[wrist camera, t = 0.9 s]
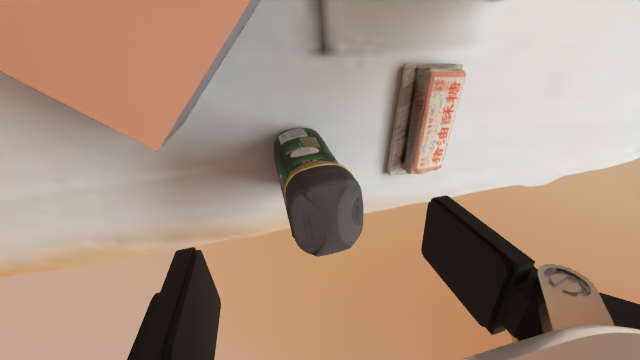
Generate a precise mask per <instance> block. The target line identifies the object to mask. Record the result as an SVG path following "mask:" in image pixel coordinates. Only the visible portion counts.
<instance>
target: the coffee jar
mask: <svg viewBox="0 0 640 360" xmlns="http://www.w3.org/2000/svg"><path fill="white" fill-rule="evenodd" d="M274 157H275V163H276V168H277V172H278V176H279V180H280V184H281V189H282V193H283V197H284V201H285V206H286V210H287V214H288V219H289V222H290V227H291V231H292V236H293V237H294V238H295V241H296V242H297V244H298V246H299V247H300V248H301V249H302V250H304V251H305V252H307V253H309V254H312V255H315V256H323V255H329V254H333V253H336V252H340V251H343V250H346V249H349V248H351V247H352V245H353V244H354V243H355V242H356V240H357V239H358V237H359V236H360V234H361V231H362V227H363V200H362V192H361V188H360V186H359V184H358V182H357V181H356V179H355V178H354V177H353V175H352V174H351V172H350V171H349V170H348V169H347V168H346V167H344V166H343V165H341V164H339V163H338V162H337V160H336V159H335V157H334V156H333V155H332V153H331V152H330V150H329V149H328V147H327V146H326V144H325V142H324V141H323V139H322V138H321V137H320V135H319V134H318V133H317V132H316V131H314V130H312V129H308V128H302V129H294V130H290V131H287V132H284V133H282V134H281V135H279V136H278V137H277V139H276V141H275V143H274Z"/></svg>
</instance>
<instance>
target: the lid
mask: <svg viewBox="0 0 640 360" xmlns="http://www.w3.org/2000/svg"><path fill="white" fill-rule="evenodd" d="M250 1H251V0H0V71H1V72H3V73H5V74H7V75H9V76H11V77H12V78H14V79H16V80H18V81H20V82H22V83H24V84H26V85H28V86H30V87H32V88H34V89H36V90H38V91H40V92H42V93H44V94H46V95H47V96H49V97H51V98H53V99H55V100H57V101H59V102H61V103H63V104H65V105H67V106H69V107H71V108H73V109H75V110H77V111H79V112H80V113H82V114H84V115H86V116H88V117H90V118H92V119H94V120H96V121H98V122H100V123H102V124H104V125H106V126H108V127H110V128H112V129H114V130H115V131H117V132H119V133H121V134H123V135H125V136H127V137H129V138H131V139H133V140H135V141H137V142H139V143H141V144H143V145H145V146H147V147H149V148H150V149H152V150H154V151H156V152H157V151H158V150H159V149H160V148H161V146H162V144H163V143H164V141H165V139H166V138H167V136H168V135H169V133H170V131H171V130H172V128H173V126H174V125H175V123H176V122H177V120H178V118H179V117H180V115H181V113H182V112H183V110H184V109H185V107H186V105H187V104H188V102H189V100H190V99H191V97H192V96H193V94H194V92H195V91H196V89H197V87H198V86H199V84H200V82H201V81H202V79H203V78H204V76H205V74H206V73H207V71H208V69H209V68H210V66H211V65H212V63H213V61H214V60H215V58H216V56H217V55H218V53H219V52H220V50H221V48H222V47H223V45H224V43H225V42H226V40H227V39H228V37H229V35H230V34H231V32H232V30H233V29H234V27H235V25H236V24H237V22H238V21H239V19H240V17H241V16H242V14H243V12H244V11H245V9H246V8H247V6H248V4H249V3H250Z"/></svg>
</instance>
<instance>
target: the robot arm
mask: <svg viewBox="0 0 640 360" xmlns="http://www.w3.org/2000/svg"><path fill="white" fill-rule="evenodd" d="M422 254H423V256H424V258H425V259H426V260H427V261H428V262H429V264H430V265H431V266H432V267H433V269H434V270H435V271H436V272H437V274H438V275H439V276H440V277H441V278H442V279H443V281H444V282H445V283H446V284H447V286H448V287H449V288H450V289H451V291H452V292H453V293H454V294H455V295H456V296H457V298H458V299H459V300H460V301H461V303H462V304H463V305H464V306H465V307H466V309H467V310H468V311H469V312H470V314H471V315H472V316H473V317H474V318H475V320H476V321H477V322H478V323H479V324H480V325H481V326H483V327H486V328H487V330H488V331H489V332H490V333H491V334H492V335H493V334H497V333H500V332H503V331H505V329H507V331H508V332H509V333H510V334H511V337H512V343H511V344H508V345H505V346H502V347H498V348H496V349H492V350H489V351H486V352H483V353H480V354H477V355H474V356H471V357H467V358H465V359H462V360H640V304H636V303H633V302H630V301H626V300H623V299H619V298H616V297H613V296H609V295H606V294H602V293H599V292H598V290H597V289H596V287H595V286H594V284H593V283H592V282H591V281H590V280H588V279H587V278H586V277H585V276H583V275H581V274H580V273H578V272H576V271H574V270H572V269H570V268H566V267H564V266H560V265H554V264H548V265H544V266H540V268H539V269H536V268H535V267H534V266H533V265H534V263H535V261H533V260H532V259H531V258H529V257H528V256H527V255H526V254H524V253H523V252H522V251H520V250H519V249H518V248H516V247H515V246H513V245H512V244H511V243H510V242H508V241H507V240H506V239H504V238H503V237H501V236H500V235H499V234H498V233H496V232H495V231H494V230H492V229H491V228H490V227H488V226H487V225H486V224H484V223H483V222H482V221H480V220H479V219H478V218H476V217H475V216H474V215H472V214H471V213H470V212H468V211H467V210H466V209H464V208H463V207H462V206H460V205H459V204H458V203H456V202H455V201H454V200H452V199H451V198H450V197H448V196H441V197H436V198H433V199H432V200H431V202H429V204H428V208H427V215H426V221H425V229H424V235H423V242H422ZM220 309H221V303H220V298H219V295H218V292H217V289H216V287H215V285H214V282H213V279H212V277H211V274H210V271H209V269H208V266H207V264H206V261H205V259H204V256H203V254H202V252H201V250H197V251H196V249H195V248H194V247H192V248H187V249H182V250H178V251H176V253H175V255H174V258H173V260H172V263H171V265H170V268H169V271H168V273H167V276H166V279H165V281H164V284H163V287H162V289H161V292H160V293H156V294H155V295H154V296H153V298H152V300H151V302H150V305H149V307H148V310H147V312H146V314H145V317H144V319H143V322H142V324H141V327H140V329H139V332H138V334H137V337H136V339H135V342H134V344H133V347H132V349H131V351H130V354H129V356H128V359H127V360H214V357H215V348H216V340H217V332H218V324H219V317H220Z"/></svg>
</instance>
